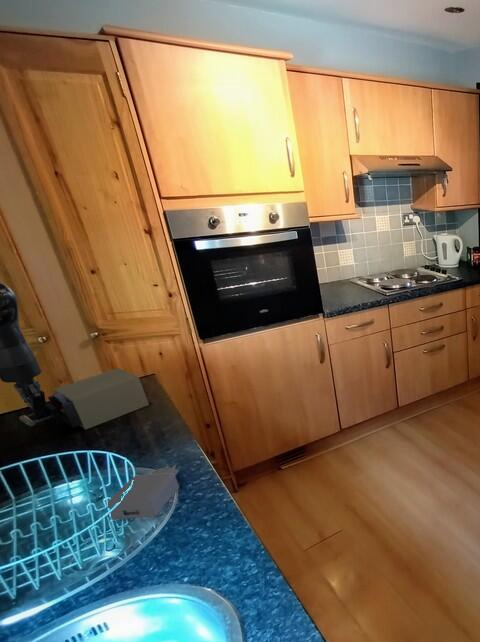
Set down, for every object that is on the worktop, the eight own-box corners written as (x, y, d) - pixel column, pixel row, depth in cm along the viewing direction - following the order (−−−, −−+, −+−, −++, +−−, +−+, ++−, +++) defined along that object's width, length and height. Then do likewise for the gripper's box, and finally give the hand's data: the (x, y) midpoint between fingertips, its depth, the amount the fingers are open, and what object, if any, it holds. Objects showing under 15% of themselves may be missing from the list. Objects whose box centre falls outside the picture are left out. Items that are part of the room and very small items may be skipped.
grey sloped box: (85, 430, 127) (72, 400, 123) (66, 418, 133) (52, 389, 129) (149, 405, 140) (138, 377, 136) (128, 395, 145) (118, 368, 141)
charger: (194, 472, 110) (157, 517, 97) (154, 475, 109) (110, 520, 96) (189, 456, 108) (150, 500, 95) (148, 459, 107) (102, 503, 94)
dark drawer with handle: (40, 443, 119) (27, 418, 116) (23, 431, 125) (10, 406, 121) (125, 410, 135) (116, 387, 132) (107, 401, 140) (97, 378, 137)
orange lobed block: (84, 409, 131) (88, 412, 130) (68, 419, 128) (72, 421, 127) (64, 389, 126) (68, 391, 125) (47, 398, 124) (51, 401, 122)
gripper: (-15, 360, 116) (14, 417, 123) (3, 371, 110) (33, 431, 117) (24, 350, 122) (50, 405, 129) (44, 360, 116) (70, 418, 123)
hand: (42, 417), depth 123 cm, fingers closed
